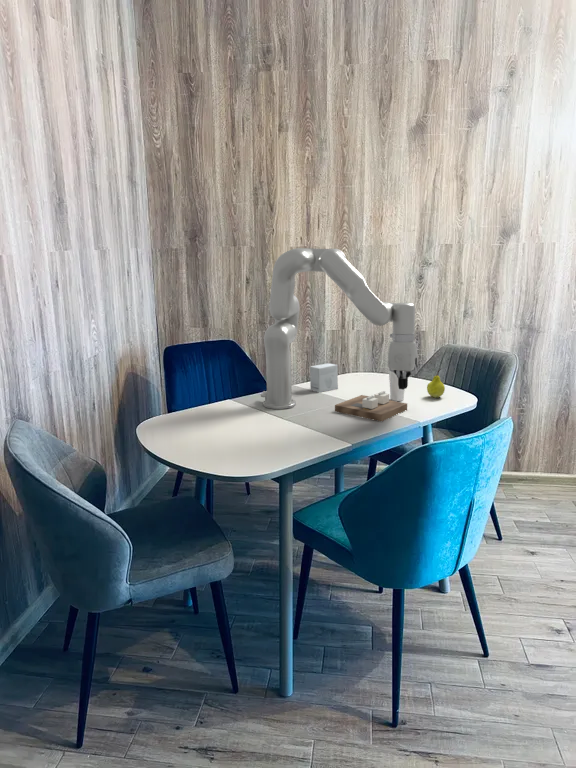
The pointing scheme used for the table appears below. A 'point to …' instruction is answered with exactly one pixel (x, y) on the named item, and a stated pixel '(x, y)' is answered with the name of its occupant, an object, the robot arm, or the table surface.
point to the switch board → (376, 413)
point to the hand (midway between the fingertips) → (402, 388)
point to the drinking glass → (395, 388)
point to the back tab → (382, 397)
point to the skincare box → (324, 377)
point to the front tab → (370, 402)
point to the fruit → (436, 387)
